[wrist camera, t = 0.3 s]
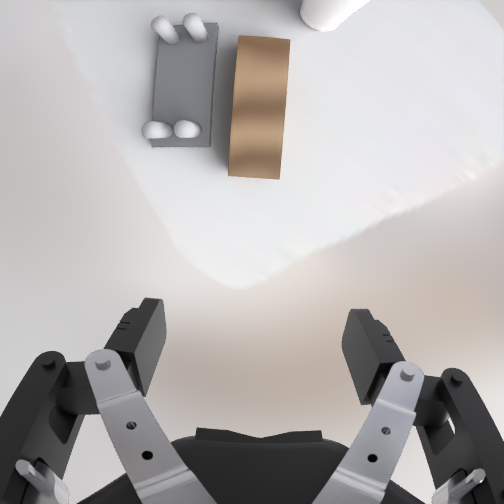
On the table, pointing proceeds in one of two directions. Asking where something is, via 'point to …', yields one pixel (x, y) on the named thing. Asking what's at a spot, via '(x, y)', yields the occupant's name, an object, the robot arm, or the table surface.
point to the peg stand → (183, 83)
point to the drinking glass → (328, 12)
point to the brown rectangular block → (259, 107)
